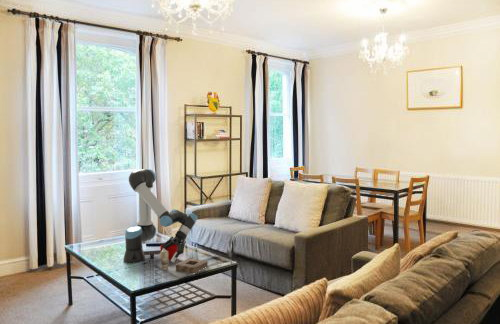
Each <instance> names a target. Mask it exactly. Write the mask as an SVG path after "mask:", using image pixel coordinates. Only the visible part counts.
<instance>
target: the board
mask: <svg viewBox="0 0 500 324" xmlns="http://www.w3.org/2000/svg"><path fill="white" fill-rule="evenodd" d="M208 263H209V261H208V260H205V259H198V258H193V257H189V258H186V259H184V260H182V261H180V262H179V263H176V264H175V271H176V272H177V271H178V272H181V273H186V272H189V273H188V274H191V273H196V272H197V273H199V272H200V271H199V270H201V269H203V268H204V269H206V268H208V267H207V266H208ZM205 267H206V268H205ZM204 269H203V270H204ZM198 271H199V272H198ZM201 271H202V270H201ZM197 273H196V274H197Z"/></svg>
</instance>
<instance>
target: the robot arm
mask: <svg viewBox="0 0 500 324" xmlns="http://www.w3.org/2000/svg"><path fill="white" fill-rule="evenodd" d="M156 178H157V176H156V173H155V172H154V171H153V169H151V168H143V169H137V170H134V171H132V172H131V173H130V174H129V176H128V183H129V186H130V187H131V188H132V190H133V192H136V193H137V194H138V208H139V209H138V214H139V215H138V217H139V219H138V220H139V221H138V222H137V223H136V225H137V226H134V225H133V226H131V227H128V228H127V229H126V230H125V235H124V237H125V252H124V255H123V263H126V264H139V263H142V262H144V261H146V255H145V252H144V249H143V243H146V242H148V241H151V240H152V239H153V238H155V237H156V235H157V227H156V226H155V225H154V222H153V220H152V211H153V212H154V215H156V216H157V217H158V219H159V224H160V226H162V227H163V228H165V227H166V228H168V227H170V226H172V225H174V224H177V223H179V224H181V225H180V226H179V228H178V230H177V231H176V233H175V234H174V236H175V237H174V236H171V237H170V238H169V239H167V241H165V242H164V243H162V244H163V245H162V244H161V245H162V247H163V249H162V250H160V252H159V254H158V257H159V258H160V259H161V251H166V249H167V248H169V247H170V246H172V245H177V252H176V253H175V254H174V256H173V258H172V259H171V260H170V261H171V262H172V263H175V262H176V260H177V259H178V257H179V256H180V255H181V254H182V255H183V254H184V250H185V244H186V243H187V241H186V239H187V236H188V235H189V233H190V232H191V231H192V228H193V227H194V226H195V225H196V222H197V221H198V215H196V214H195V213H193V212H189V213H188V214H187V213H184V212H183V211H180V210H178V209H175V208H173V209H171V210H170V211H168V210H167V208H166V207H165V205H164V204H163V203H162V202H161V201H160V200H159V199H158V198H157V197H156V195H155V194H154V193H153V191H152V188H153V187H154V182H156ZM179 254H180V255H179Z"/></svg>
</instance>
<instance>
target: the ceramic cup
mask: <svg viewBox="0 0 500 324" xmlns="http://www.w3.org/2000/svg"><path fill="white" fill-rule="evenodd" d="M163 244H164V243H162V244H161V245H160V246H159V247H160V248H159V249H160V251H161V250H162V249H163V247H162V245H163ZM166 251H168V261H171V259H172V258H173V256H174V254H175V253H176V252H177V245H172V246H170V247H169V248H167V249H166ZM180 255H181V254H179V256H180Z"/></svg>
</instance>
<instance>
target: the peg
mask: <svg viewBox="0 0 500 324" xmlns="http://www.w3.org/2000/svg"><path fill="white" fill-rule="evenodd" d="M160 253H161V258H160V265H161V270H162V271H166V270H168V269H169V260H168V251H161V250H160Z"/></svg>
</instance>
